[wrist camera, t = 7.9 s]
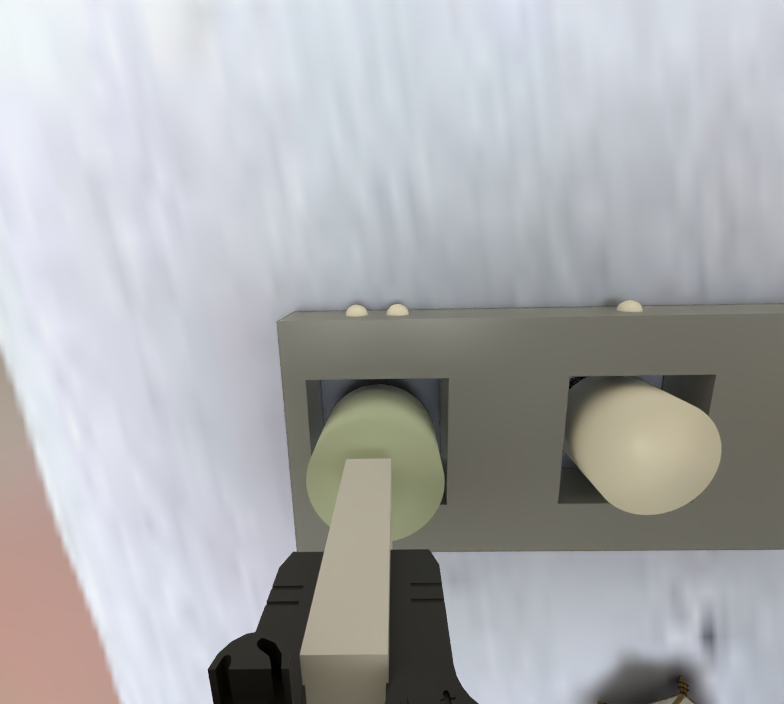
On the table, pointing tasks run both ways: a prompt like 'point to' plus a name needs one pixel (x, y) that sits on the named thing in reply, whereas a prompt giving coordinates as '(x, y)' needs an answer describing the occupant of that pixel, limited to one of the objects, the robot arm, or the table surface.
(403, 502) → the button two
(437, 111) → the table surface
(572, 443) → the button one
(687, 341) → the console
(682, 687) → the game die
